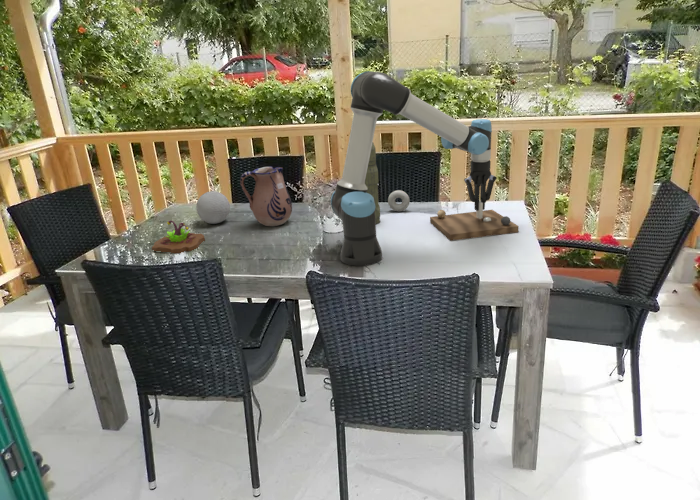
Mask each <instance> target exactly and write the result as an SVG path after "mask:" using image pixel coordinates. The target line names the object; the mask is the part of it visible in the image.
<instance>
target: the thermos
mask: <svg viewBox="0 0 700 500" xmlns="http://www.w3.org/2000/svg"><path fill="white" fill-rule="evenodd" d="M376 151H377V150H376V145H375V144H374V142H372V147H371V153H370V158H369V163H368V168H367V173H366V178H365V185H366V187H367V188H368V189H367V193H369V194H370V195H372V196H373V198H374V202H375V219H376V225H379V224H380V223H381V206H380V203H379V189H378V188H379V187H378V185H379V170H378V167H377V162H376V160H377V155H376V154H377V153H376Z"/></svg>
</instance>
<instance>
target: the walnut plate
mask: <svg viewBox="0 0 700 500" xmlns="http://www.w3.org/2000/svg"><path fill="white" fill-rule="evenodd" d="M485 217H489V218H491V220H492V221H483V219H484V218H485ZM503 217H504V216H503V215H502V214H500V213H498V212H497V211H495V210H493V209H484V210H483V217H482V218H481V219H479V218H477V217H476V211H469V212H461V213H454V214H453V213H451V214H446V215H445V217H444V218H439V217H438V215H435V216H430V217H429V223H430V224H431V225H432V226H433V227H434V228H436V230H438V231H439V232H440V233H441V234H442V235H443V236H444V237H445V238H446V239H448V241H449V242H452V241H459V240H467V239H468V240H469V239H476V238H482V237H491V236H498V235H506V234H508V235H509V234H515V233H519V229H520V228H519V225H517V224H516V223H515V222H513V221H511V220H510V223H509V224H508V225H503V224H502V223H501V219H502V218H503Z"/></svg>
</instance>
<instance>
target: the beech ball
mask: <svg viewBox="0 0 700 500" xmlns="http://www.w3.org/2000/svg"><path fill="white" fill-rule="evenodd" d="M436 214H437V215H436V216H438V217H439V218H444V217H445V215H447V214H446V211H445V210H444V209H440V210H438V211H437V213H436Z"/></svg>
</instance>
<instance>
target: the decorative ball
mask: <svg viewBox="0 0 700 500" xmlns="http://www.w3.org/2000/svg"><path fill="white" fill-rule="evenodd" d="M196 201H197V202H196V212H197V213H196V214H197V216H198V217H199V218H200V219H201V220H202V221H203V222H204V223H206V224H207V223H208V224H211V225H215V224H216V225H218V224H220V223H222V222H224V221H225V220H226V219H227V218H228V217H229V214H230V211H231V205H230V201H229V199H228V198H227V196H226V195H224V194H223V193H221V192H219V191H215V190H211V191H206V192H205V193H203V194H202V195H200V196H199V198H198V199H197V200H196Z"/></svg>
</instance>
